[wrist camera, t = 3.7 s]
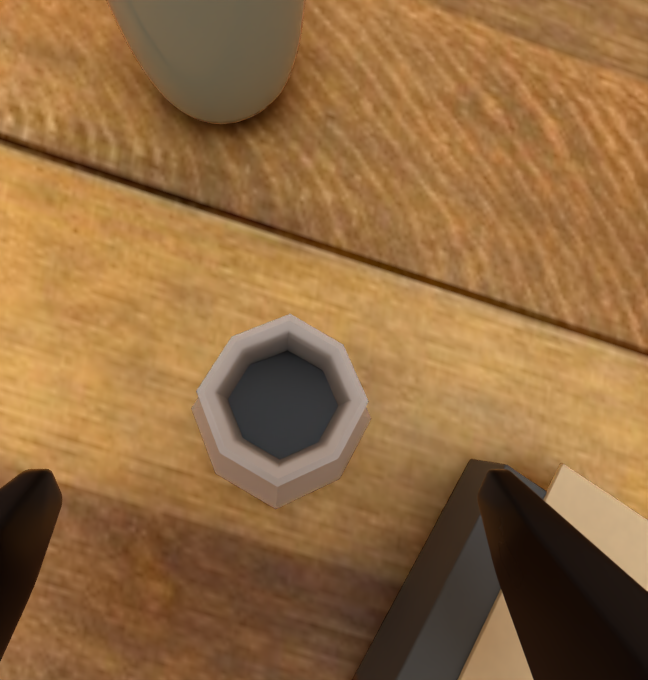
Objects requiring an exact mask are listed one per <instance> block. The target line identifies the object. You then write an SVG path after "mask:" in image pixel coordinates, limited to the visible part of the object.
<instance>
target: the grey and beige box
mask: <svg viewBox="0 0 648 680" xmlns="http://www.w3.org/2000/svg"><path fill="white" fill-rule="evenodd" d="M490 469H507V470H509V471H511V472H512V473H513V474H515V475H516V476H517V477H518V478H519V479H520V480H521V481H523V482H524V483H525V484H526V485H527V486H528V487H529V488H531V489H532V490H533V491H534V492H535V493H536V494H537V495H538V496H540V497H541V498H542V499H543V500H544V501H545V502H546V503H548V504H549V505H550V506H551V507H552V508H553V509H554V510H556V511H557V512H558V513H559V514H560V515H561V516H562V517H563V518H565V519H566V520H567V521H568V522H569V523H570V524H571V525H573V526H574V527H575V528H576V529H577V530H578V531H579V532H581V533H582V534H583V535H584V536H585V537H586V538H587V539H589V540H590V541H591V542H592V543H593V544H594V545H595V546H596V547H598V548H599V549H600V550H601V551H602V552H603V553H604V554H606V555H607V556H608V557H609V558H610V559H611V560H612V561H614V562H615V563H616V564H617V565H618V566H619V567H620V568H621V569H623V570H624V571H625V572H626V573H627V574H628V575H629V576H631V577H632V578H633V579H634V580H635V581H636V582H637V583H639V584H640V585H641V586H642V587H643V588H644V589H645V590H646V591H648V520H647V519H646V518H644V517H643V516H641V515H640V514H638V513H637V512H635V511H634V510H632V509H631V508H629V507H628V506H626V505H625V504H623V503H622V502H620V501H619V500H617V499H616V498H614V497H613V496H611V495H610V494H608V493H607V492H605V491H604V490H602V489H601V488H599V487H598V486H596V485H595V484H593V483H592V482H590V481H589V480H587V479H586V478H584V477H583V476H581V475H580V474H578V473H577V472H575V471H574V470H572V469H571V468H569V467H568V466H566V465H565V464H562V463H560V464H559V467H558V469H557V471H556V473H555V475H554V477H553V479H552V481H551V483H550V485H549V488H548V490H547V491H545V490H544V489H542V488H541V487H539V486H538V485H536V484H535V483H533V482H532V481H530V480H529V479H527V478H526V477H524V476H523V475H521V474H520V473H518V472H517V471H515V470H514V469H512V468H511V467H510V466H508V465H505V464H499V463H493V462H487V461H481V460H475V459H471V460H470V461H469V463H468V465H467V467H466V469H465V470H464V472H463V474H462V476H461V478H460V480H459V482H458V484H457V485H456V487H455V489H454V491H453V493H452V495H451V497H450V498H449V500H448V502H447V504H446V506H445V508H444V510H443V512H442V513H441V515H440V517H439V519H438V521H437V523H436V525H435V526H434V528H433V530H432V532H431V534H430V536H429V538H428V540H427V541H426V543H425V545H424V547H423V549H422V551H421V553H420V554H419V556H418V558H417V560H416V562H415V564H414V566H413V567H412V569H411V571H410V573H409V575H408V577H407V579H406V581H405V582H404V584H403V586H402V588H401V590H400V592H399V594H398V595H397V597H396V599H395V601H394V603H393V605H392V607H391V609H390V610H389V612H388V614H387V616H386V618H385V620H384V622H383V623H382V625H381V627H380V629H379V631H378V633H377V635H376V637H375V638H374V640H373V642H372V644H371V646H370V648H369V650H368V651H367V653H366V655H365V657H364V659H363V661H362V663H361V665H360V666H359V668H358V670H357V672H356V674H355V676H354V678H353V679H352V680H533V677H532V674H531V671H530V669H529V666H528V663H527V660H526V657H525V655H524V652H523V649H522V646H521V644H520V641H519V638H518V635H517V632H516V630H515V627H514V624H513V621H512V618H511V616H510V613H509V610H508V607H507V604H506V602H505V599H504V596H503V593H502V590H501V588H500V585H499V582H498V579H497V576H496V572H495V569H494V565H493V562H492V558H491V554H490V550H489V546H488V542H487V537H486V533H485V529H484V525H483V521H482V517H481V513H480V509H479V505H478V499H477V496H478V491H479V489H480V487H481V484H482V482H483V480H484V478H485V475H486V473H487V471H489V470H490Z"/></svg>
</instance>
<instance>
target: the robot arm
mask: <svg viewBox="0 0 648 680" xmlns="http://www.w3.org/2000/svg"><path fill="white" fill-rule="evenodd" d="M477 499H478V505H479V509H480V513H481V517H482V521H483V525H484V529H485V533H486V537H487V542H488V546H489V550H490V554H491V558H492V562H493V565H494V569H495V572H496V576H497V579H498V582H499V585H500V588H501V590H502V593H503V596H504V599H505V602H506V604H507V607H508V610H509V613H510V616H511V618H512V621H513V624H514V627H515V630H516V632H517V635H518V638H519V641H520V644H521V646H522V649H523V652H524V655H525V657H526V660H527V663H528V666H529V669H530V671H531V674H532V677H533V680H648V591H646V590H645V589H644V588H643V587H642V586H641V585H640V584H639V583H637V582H636V581H635V580H634V579H633V578H632V577H631V576H629V575H628V574H627V573H626V572H625V571H624V570H623V569H621V568H620V567H619V566H618V565H617V564H616V563H615V562H614V561H612V560H611V559H610V558H609V557H608V556H607V555H606V554H604V553H603V552H602V551H601V550H600V549H599V548H598V547H596V546H595V545H594V544H593V543H592V542H591V541H590V540H589V539H587V538H586V537H585V536H584V535H583V534H582V533H581V532H579V531H578V530H577V529H576V528H575V527H574V526H573V525H571V524H570V523H569V522H568V521H567V520H566V519H565V518H563V517H562V516H561V515H560V514H559V513H558V512H557V511H556V510H554V509H553V508H552V507H551V506H550V505H549V504H548V503H546V502H545V501H544V500H543V499H542V498H541V497H540V496H538V495H537V494H536V493H535V492H534V491H533V490H532V489H531V488H529V487H528V486H527V485H526V484H525V483H524V482H523V481H521V480H520V479H519V478H518V477H517V476H516V475H515V474H513V473H512V472H511V471H509V470H507V469H490V470H489V471H487V473H486V475H485V478H484V480H483V482H482V484H481V487H480V489H479V491H478V496H477ZM61 506H62V494H61V491H60V489H59V486H58V484H57V482H56V479H55V477H54V475H53V473H52V471H50V470H49V469H28V470H25V471H23V472H22V473H20V474H19V475H18V476H16V477H15V478H14V479H12V480H11V481H10V482H8V483H7V484H6V485H4V486H3V487H2V488H0V661H1V659H2V657H3V654H4V652H5V650H6V648H7V646H8V643H9V641H10V639H11V637H12V635H13V632H14V630H15V628H16V626H17V624H18V621H19V619H20V617H21V615H22V613H23V610H24V608H25V606H26V604H27V601H28V599H29V597H30V595H31V592H32V590H33V588H34V585H35V582H36V580H37V577H38V574H39V571H40V568H41V565H42V562H43V559H44V556H45V554H46V551H47V548H48V545H49V542H50V539H51V536H52V533H53V530H54V527H55V524H56V521H57V518H58V515H59V512H60V509H61Z"/></svg>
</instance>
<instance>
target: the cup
mask: <svg viewBox="0 0 648 680" xmlns="http://www.w3.org/2000/svg"><path fill="white" fill-rule="evenodd" d="M305 1H306V0H106V2H107V4H108V6H109V8H110V10H111V12H112V15H113V17H114V19H115V21H116V23H117V25H118V27H119V29H120V31H121V33H122V35H123V37H124V39H125V41H126V43H127V45H128V47H129V48H130V50H131V52H132V54H133V55H134V57H135V59H136V60H137V62H138V63H139V65H140V66H141V68H142V69H143V71H144V72H145V74H146V75H147V77H148V78H149V80H150V81H151V83H152V84H153V85H154V86H155V88H156V89H157V90H158V91H159V92H160V93H161V94H162V95H163V96H164V97H165V98H166V99H167V100H168V102H169V103H171V104H172V105H174V106H175V107H176V108H178V109H179V110H180V111H182V112H183V113H185V114H186V115H188V116H190V117H192V118H194V119H196V120H199V121H203V122H206V123H210V124H230V123H236V122H240V121H243V120H246V119H249V118H251V117H253V116H255V115H257V114H259V113H260V112H262V111H263V110H264V109H266V108H267V107H269V106H270V105H271V103H272V102H273V101H274V100H275V99H276V98H277V97H278V96H279V95H280V94H281V92H282V90H283V89H284V87H285V86H286V84H287V82H288V80H289V78H290V76H291V73H292V69H293V66H294V63H295V60H296V56H297V53H298V49H299V44H300V39H301V33H302V26H303V19H304V10H305Z"/></svg>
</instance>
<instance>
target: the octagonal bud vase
mask: <svg viewBox="0 0 648 680" xmlns="http://www.w3.org/2000/svg"><path fill="white" fill-rule="evenodd" d="M196 392H197V394H198V399H197V400H196V402H195V403H194V405H193V406H192V408H191V409H192V412H193V414H194V417H195V420H196V422H197V425H198V428H199V430H200V433H201V436H202V438H203V441H204V444H205V446H206V449H207V452H208V454H209V457H210V460H211V463H212V465H213V468H214V471H215V473H216V474H217V475H219V476H221V477H222V478H224V479H226V480H228V481H229V482H231V483H233V484H234V485H236V486H238V487H239V488H241V489H243V490H245V491H246V492H248V493H250V494H251V495H253V496H255V497H256V498H258V499H260V500H261V501H263V502H265V503H267V504H268V505H270V506H272V507H273V508H275V509H277V508H279V507H281V506H283V505H286V504H288V503H290V502H292V501H294V500H296V499H298V498H300V497H302V496H305V495H307V494H309V493H311V492H313V491H315V490H317V489H319V488H321V487H324V486H326V485H328V484H330V483H332V482H334V481H336V480H338V479H340V477H341V475H342V473H343V471H344V470H345V468H346V466H347V464H348V462H349V460H350V458H351V456H352V454H353V452H354V450H355V449H356V447H357V445H358V443H359V441H360V439H361V437H362V435H363V433H364V431H365V430H366V428H367V426H368V424H369V422H370V420H371V417H370V415H369V412H368V410H367V408H366V406H367V404H368V402H369V401H368V399H367V397H366V395H365V392H364V390H363V388H362V386H361V383H360V381H359V379H358V377H357V374H356V372H355V370H354V368H353V366H352V363H351V361H350V359H349V357H348V354H347V352H346V350H345V348H344V345H343V344H341V343H340V342H338V341H336V340H334V339H333V338H331V337H329V336H327V335H326V334H324V333H322V332H321V331H319V330H317V329H315V328H314V327H312V326H310V325H308V324H307V323H305V322H303V321H302V320H300V319H298V318H296V317H295V316H293V315H291V314H289V315H286V316H283V317H281V318H278V319H276V320H273V321H270V322H268V323H265V324H263V325H260V326H258V327H255V328H252V329H250V330H247V331H245V332H242V333H240V334H237V335H234V336H232V337H231V339H230V340H229V342H228V343H227V345H226V346H225V348H224V349H223V351H222V352H221V354H220V355H219V357H218V359H217V360H216V362H215V363H214V365H213V366H212V368H211V369H210V371H209V372H208V374H207V376H206V377H205V379H204V380H203V382H202V383H201V385H200V386H199V388H198V389H197V391H196Z"/></svg>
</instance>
